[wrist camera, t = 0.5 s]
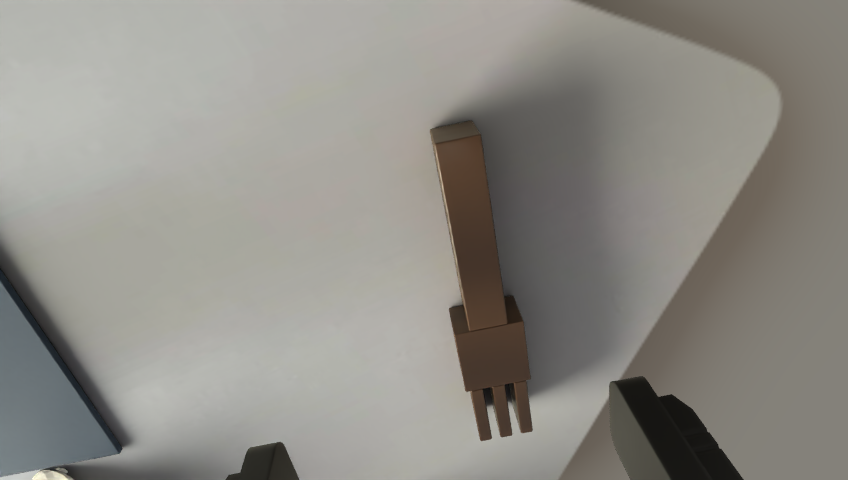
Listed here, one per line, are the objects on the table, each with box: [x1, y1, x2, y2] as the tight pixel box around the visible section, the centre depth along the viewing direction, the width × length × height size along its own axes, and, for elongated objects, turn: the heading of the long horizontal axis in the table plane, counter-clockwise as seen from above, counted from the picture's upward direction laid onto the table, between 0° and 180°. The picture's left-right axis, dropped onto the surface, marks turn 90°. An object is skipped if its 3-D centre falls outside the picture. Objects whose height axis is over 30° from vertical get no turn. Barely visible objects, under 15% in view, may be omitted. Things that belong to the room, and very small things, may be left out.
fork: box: [430, 121, 533, 441], centre depth 26 cm, size 18×4×2 cm, turn 11°
